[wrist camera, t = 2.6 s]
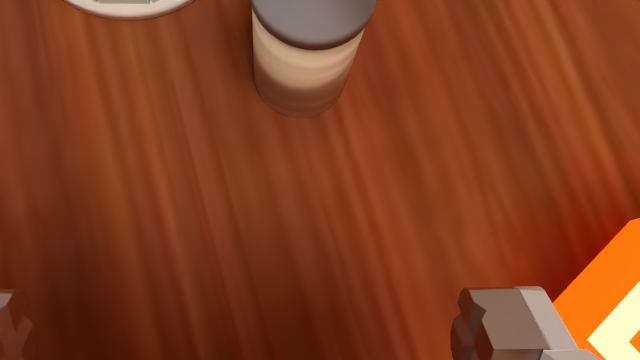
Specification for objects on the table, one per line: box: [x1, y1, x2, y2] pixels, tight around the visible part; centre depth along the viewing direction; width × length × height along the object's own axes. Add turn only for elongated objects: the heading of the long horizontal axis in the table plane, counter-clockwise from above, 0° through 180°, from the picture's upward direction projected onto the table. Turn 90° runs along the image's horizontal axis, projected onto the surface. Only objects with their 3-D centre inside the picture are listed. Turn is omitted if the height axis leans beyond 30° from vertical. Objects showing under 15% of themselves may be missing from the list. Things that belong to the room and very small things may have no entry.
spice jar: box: [250, 0, 377, 118], centre depth 26 cm, size 5×5×9 cm
